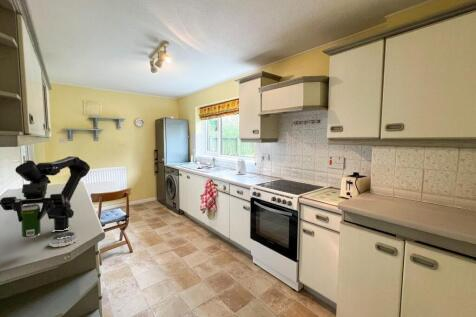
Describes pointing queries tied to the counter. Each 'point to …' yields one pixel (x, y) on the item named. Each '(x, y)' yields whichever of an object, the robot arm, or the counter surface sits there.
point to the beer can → (30, 221)
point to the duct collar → (64, 240)
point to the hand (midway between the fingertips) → (29, 220)
